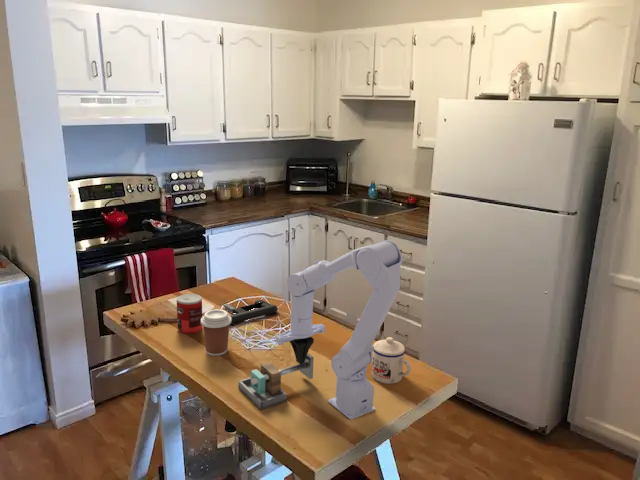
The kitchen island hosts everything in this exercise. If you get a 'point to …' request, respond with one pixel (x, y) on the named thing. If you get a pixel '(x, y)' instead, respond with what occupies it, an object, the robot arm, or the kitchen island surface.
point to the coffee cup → (216, 331)
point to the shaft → (294, 369)
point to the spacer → (261, 382)
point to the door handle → (251, 311)
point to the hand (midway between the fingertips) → (300, 362)
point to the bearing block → (271, 378)
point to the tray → (263, 399)
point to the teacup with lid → (389, 361)
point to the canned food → (189, 313)
